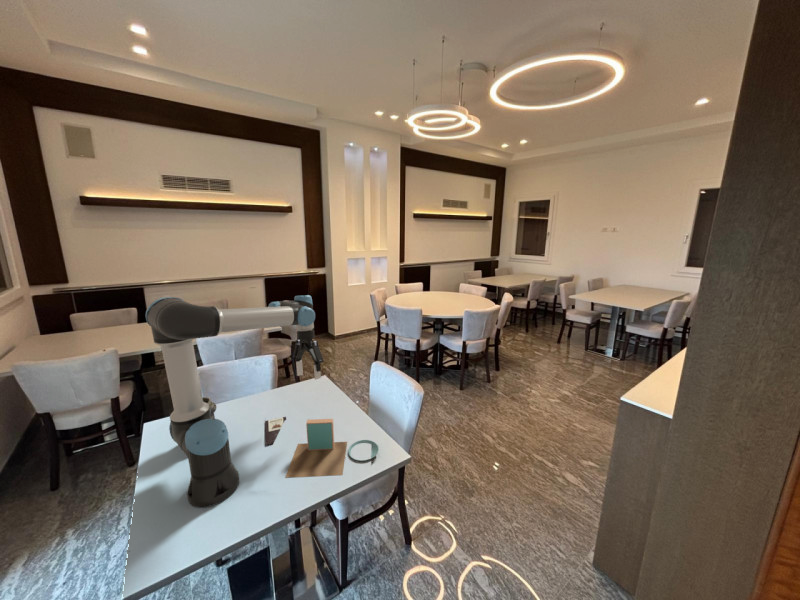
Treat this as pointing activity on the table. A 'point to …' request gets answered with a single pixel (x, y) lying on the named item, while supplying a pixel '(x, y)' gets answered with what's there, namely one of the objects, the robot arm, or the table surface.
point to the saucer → (373, 448)
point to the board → (317, 461)
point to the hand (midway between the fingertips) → (308, 376)
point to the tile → (320, 434)
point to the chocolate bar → (273, 429)
